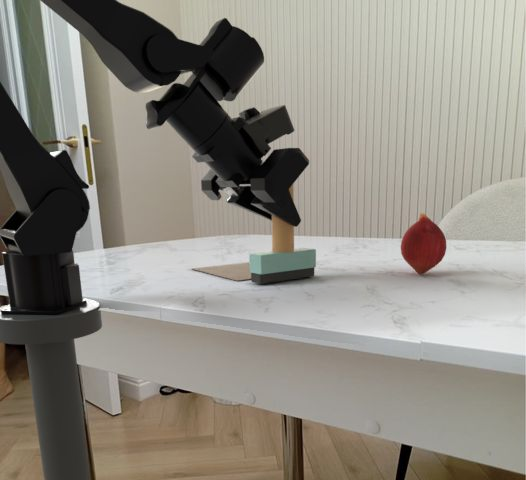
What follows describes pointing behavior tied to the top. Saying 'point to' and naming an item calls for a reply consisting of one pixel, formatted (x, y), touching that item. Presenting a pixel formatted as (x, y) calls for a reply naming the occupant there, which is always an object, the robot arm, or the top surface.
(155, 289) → the top surface
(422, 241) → the onion
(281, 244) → the wiper
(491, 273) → the top surface
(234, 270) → the brown flat rectangular panel
